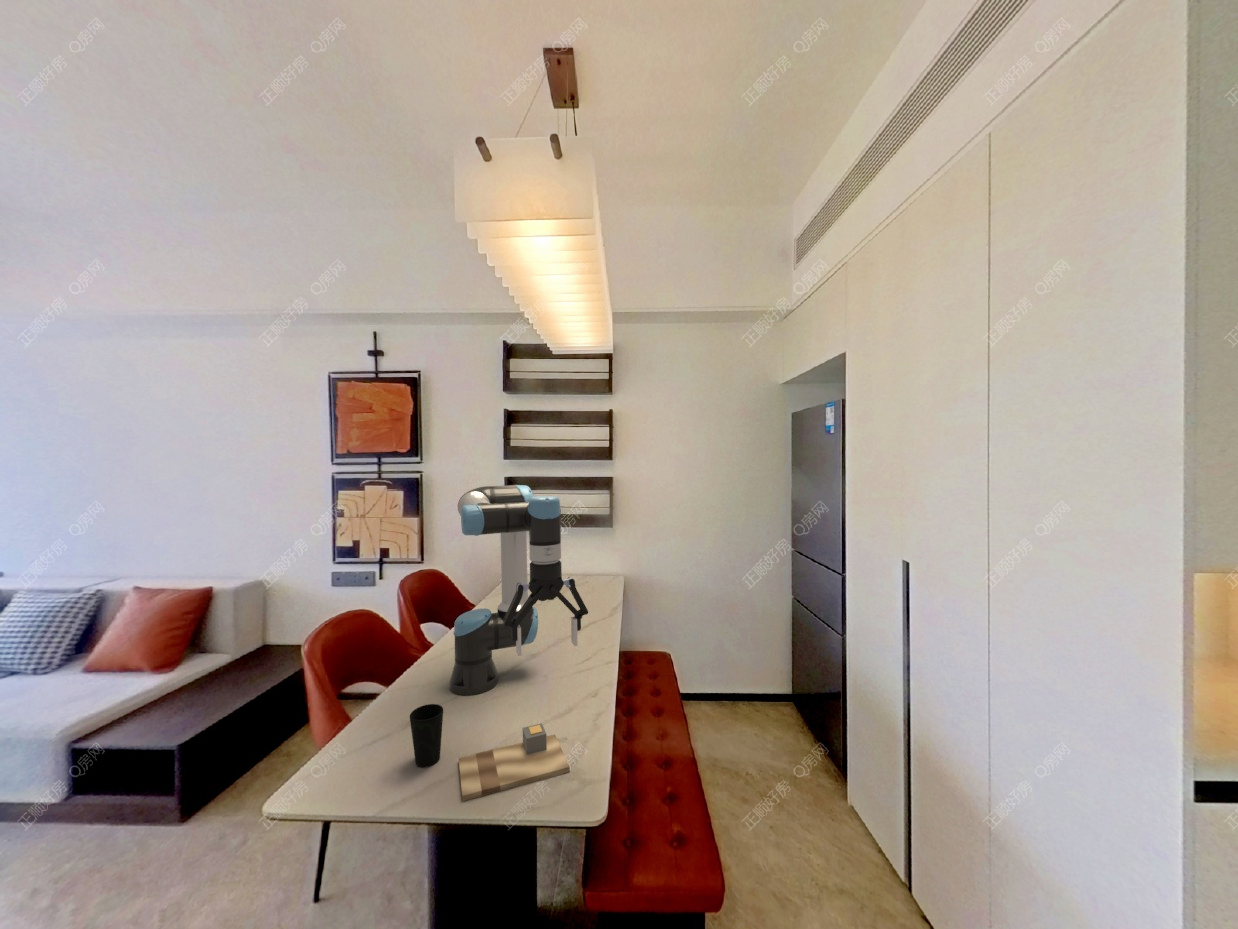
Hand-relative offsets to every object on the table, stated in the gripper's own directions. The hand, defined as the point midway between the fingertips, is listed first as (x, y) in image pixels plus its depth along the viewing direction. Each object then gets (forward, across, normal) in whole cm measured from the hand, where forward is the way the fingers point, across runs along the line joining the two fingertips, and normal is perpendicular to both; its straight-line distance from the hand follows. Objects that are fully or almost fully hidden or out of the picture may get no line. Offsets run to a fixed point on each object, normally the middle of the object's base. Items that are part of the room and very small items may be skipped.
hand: (547, 648), depth 114 cm
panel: (+28, -8, +2) cm, 29 cm away
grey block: (+27, -2, +6) cm, 28 cm away
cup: (+28, -27, +13) cm, 41 cm away
